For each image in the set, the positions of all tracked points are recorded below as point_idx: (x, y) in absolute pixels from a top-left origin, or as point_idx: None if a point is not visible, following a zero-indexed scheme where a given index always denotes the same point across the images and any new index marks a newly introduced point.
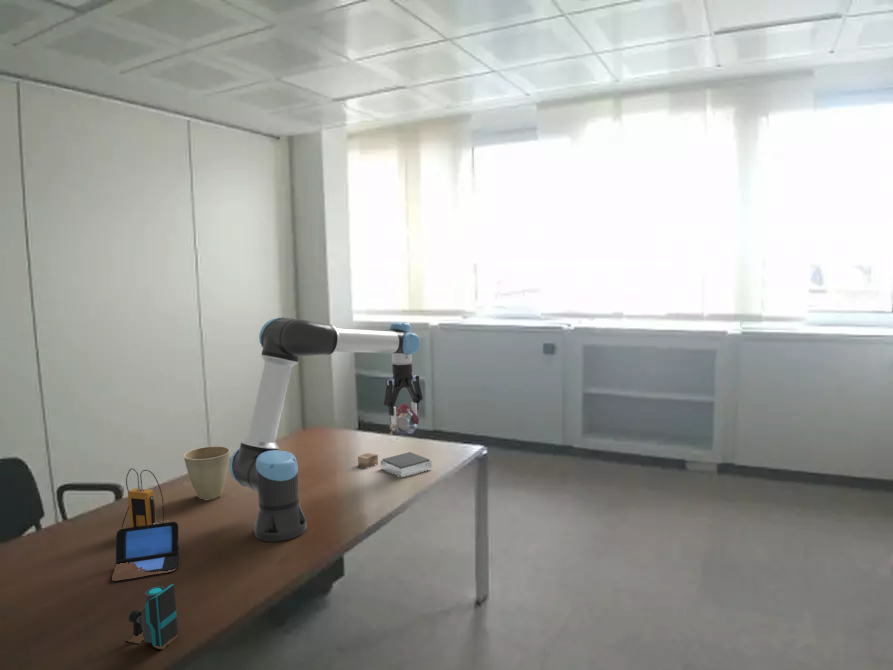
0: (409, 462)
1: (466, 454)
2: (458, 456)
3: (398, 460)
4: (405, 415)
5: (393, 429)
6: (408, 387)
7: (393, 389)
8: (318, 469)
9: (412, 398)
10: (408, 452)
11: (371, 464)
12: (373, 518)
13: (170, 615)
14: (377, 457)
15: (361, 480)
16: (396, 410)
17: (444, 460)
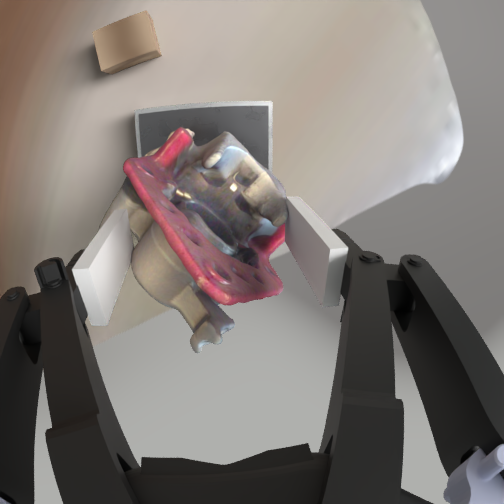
0: None
1: (414, 175)
2: (392, 172)
3: None
4: (182, 310)
5: None
6: (321, 449)
7: (52, 424)
8: (14, 25)
9: (349, 287)
10: (260, 106)
11: (129, 65)
12: None
13: None
14: (156, 52)
15: (55, 174)
16: (155, 219)
17: (346, 171)
